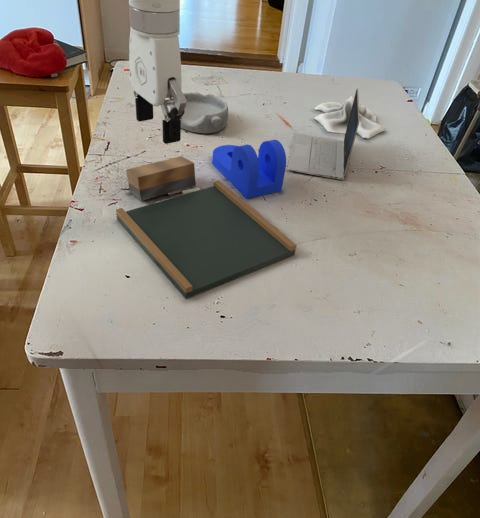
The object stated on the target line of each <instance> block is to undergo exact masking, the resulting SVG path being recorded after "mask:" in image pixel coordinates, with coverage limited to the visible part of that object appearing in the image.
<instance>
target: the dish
mask: <svg viewBox="0 0 480 518" xmlns="http://www.w3.org/2000/svg"><path fill="white" fill-rule="evenodd" d="M183 94H184V96H185V98H186V100H187V104H186V106H185V109H184V111H185V112H184V114H183V117H182V119H181V129H182V130H185V131H188V132H192V133H198V134H199V133H200V134H213V133H217V132H220V131H221V130H223V129H224V128H225V127H226V125H227V122H228V118H229V106H228V103H227V102H226V100H223V99H222V98H220V97H218V96H217V95H214V94H211V93H207V94H202V93H201V92H197V91H196V92H193V91H192V92H183ZM169 107H170V108H169V112H170V111H171V110H172V108H174V107H173V105H169Z"/></svg>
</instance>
